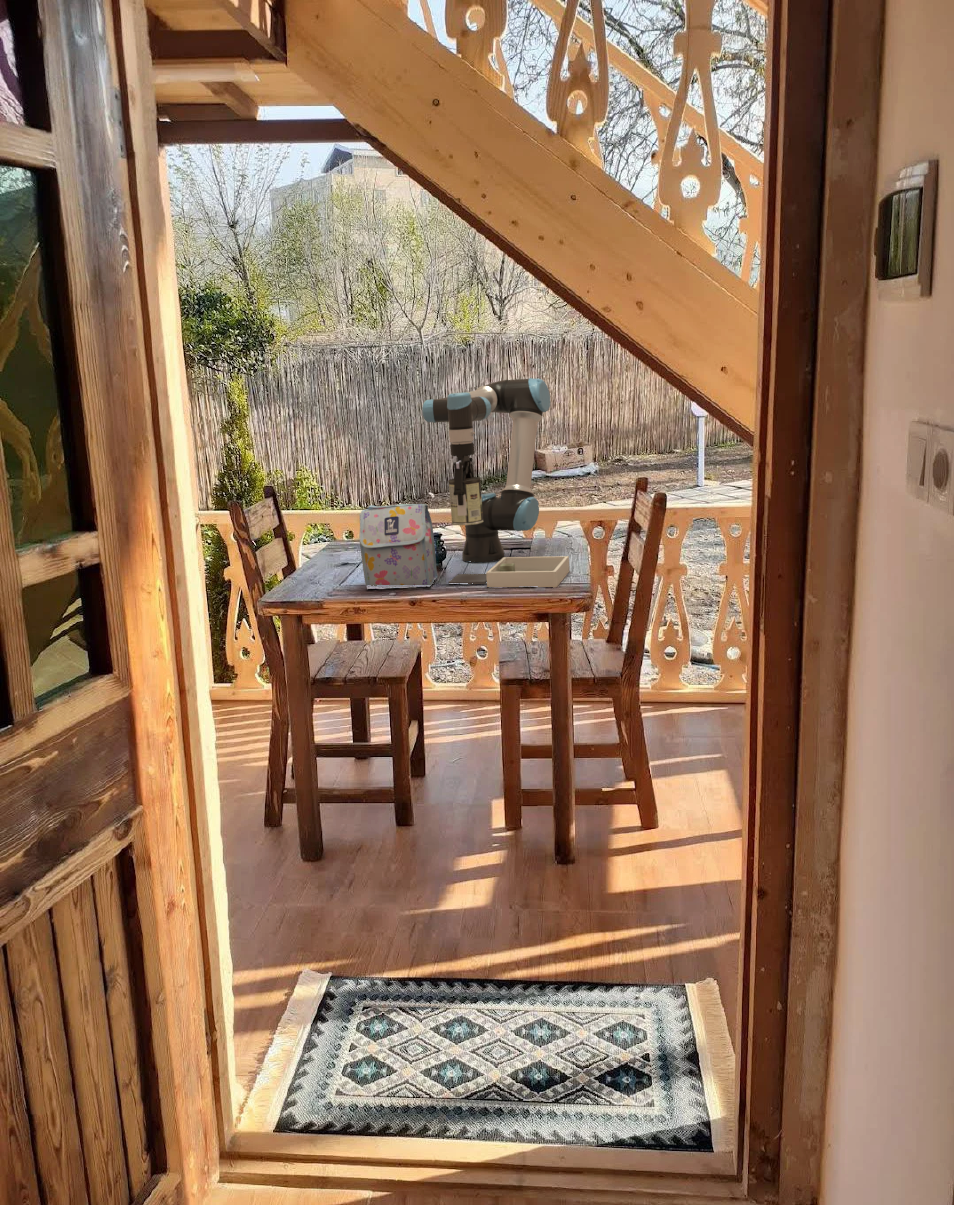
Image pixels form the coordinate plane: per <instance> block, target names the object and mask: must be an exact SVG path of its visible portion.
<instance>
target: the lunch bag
mask: <svg viewBox="0 0 954 1205" xmlns="http://www.w3.org/2000/svg"><path fill="white" fill-rule="evenodd" d="M359 547H360V548H359V549H360V555H361V562H362V563H361V564H362V570H363V571H362V572H363V576H364V577H363V579H364V584H365V586H366V585H371V586H373V585H374V586H377V585H431V584H432V583H433V582H434V578H439V576H438V571H437V560H436V547H435V539H434V527H433V521H432V518H431V514H430V510H429V506H428V504H426V503H416V504H415V503H409V504H407V503H404V504H403V503H402V504H401V503H400V504H399V503H398V504H394V505H382V506H381V505H380V506H377V505H374V504H373V505H369V506H368V508H366V509H362V510H360V513H359ZM434 583H435V582H434ZM434 583H433V584H434Z"/></svg>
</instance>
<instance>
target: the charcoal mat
mask: <svg viewBox="0 0 954 1205" xmlns="http://www.w3.org/2000/svg"><path fill="white" fill-rule="evenodd" d="M486 582H487V577H486V573H458V574H457V575H456V576H454V577H453V578H452V579H450V580H449V581H448V584H449V583H468V584H472V583H473V584H485V585H487V583H486Z"/></svg>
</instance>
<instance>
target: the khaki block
mask: <svg viewBox="0 0 954 1205" xmlns="http://www.w3.org/2000/svg"><path fill="white" fill-rule="evenodd" d="M500 572H515V563H508V564H502V565H501V566H500Z"/></svg>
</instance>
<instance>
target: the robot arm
mask: <svg viewBox="0 0 954 1205" xmlns="http://www.w3.org/2000/svg"><path fill="white" fill-rule="evenodd" d="M421 407H422V409H421V411H422V417H423V420H424V421H425V422H426V423H432V424H433V423H434V424H436V423H448V431H449V432H448V433H449V434H448V435H449V442H450V443H451V444H450V455H451V456H452V457H456V461H454V462H453V470H454V471H453V474H454V476H453V477H454V478H453V479H454V493H453V494H454V495H456V496H457V510H458V516H466V515H467V511H466V496H465V495H464V490H465V487H464V482H463V481H465V478H471V477H475V470H474V465H473V463H474V462H473V457H470V456H474V455H475V453H476V452H475V443H474V442H473V441H474V438H475V437H474V435H475V434H476V432H475V431H474V427H473V426H474V422H480V421H483V420H486V419H487V418H488V417H490V415H491V413H498V414H501V413H502V414H509V417H510V418H511V420H512V430H511V439H510V445H509V446H510V447H509V448H510V449H509V457H508V467H507V475H506V485H505V487H504V488H502V489H501V492H500V496H497V493H495V492H486V493H481V498H482V512H483V522H482V523H479V524H474V525H464V530H465V542H464V546H463V549H462V554H461V555H462V561H463V562H465V561H471V562H470V563H472V562H482V563H491V562H497V561H498V562H499V561H500V560H501V559H502V558H503V557H506V556H505V551H504V550H505V549H504V548H503V545H502V543H501V540H500V536H499V531H505V532H506V531H509V532H510V531H512V532H514V531H515V532H521V531H522V532H523V531H524V532H525V531H531V529H533V528H534V526H535V525H536V523H537V521H538V518H539V515H540V514H539V513H540V506H539V505H540V504H539V501H538V499H537V498H536V497H535V493H534V491H532V488H531V487H532V477H533V467H534V459H535V458H534V457H535V449H536V439H537V430H538V423H539V422H540V421H541V420H543V415H544V413H546V412H548V411H549V410H550V408H551V394H550V390H549V387H548V384H547V383H546V382H545V381H544V380H543V379H541V378H532V377H529V378H522V379H521V378H519V379H516V378H515V379H503V380H498V381H495V382H492V383H488V384H485V385H481V386H478V387H477V389H475V390H472V391H469V392H454V393H449V394H448V395H447V396H446V397H443V398H435V399H434V398H432V399H426V400H425V401H424V402H423V404H422V406H421Z"/></svg>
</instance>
